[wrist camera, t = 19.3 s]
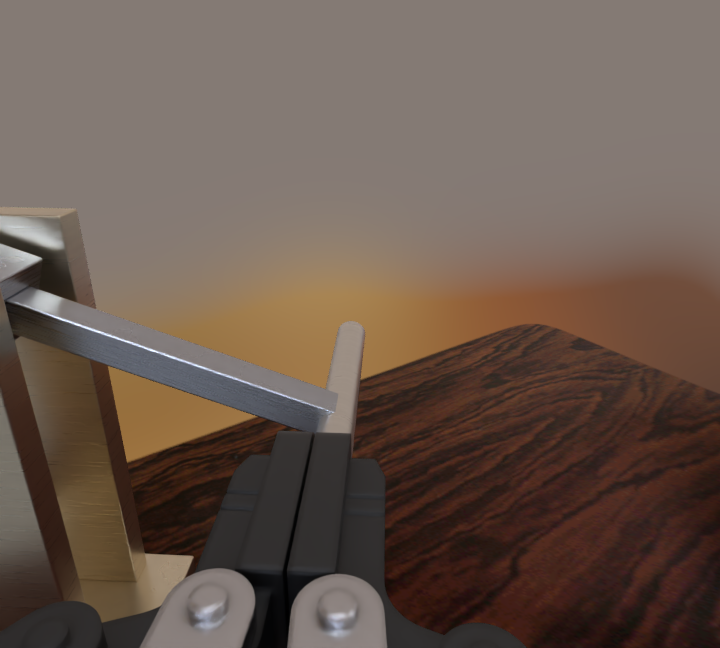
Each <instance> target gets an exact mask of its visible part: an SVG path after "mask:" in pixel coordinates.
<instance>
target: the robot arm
mask: <svg viewBox="0 0 720 648" xmlns="http://www.w3.org/2000/svg"><path fill="white" fill-rule="evenodd" d="M384 553H385V475H384V473H383V472H382V470H381V468H380V466H379V465H378V463H377V461H376V460H375V459H357V458H351V433H328V432H316V434H314V432H296V431H278V433H277V436H276V439H275V442H274V445H273V448H272V452H271V455H250V456H249V457H248V458H247V459H246V460H245V461H244V462H243V463H242V464H241V465H240V466H239V467H238V468H237V469H236V470H235V471H234V474H233V476H232V479H231V481H230V484H229V486H228V489H227V494H225V497H224V499H223V502H222V504H221V510H219V512H218V514H217V517H216V520H215V522H214V525H213V527H212V530H211V532H210V535H209V537H208V540H207V542H206V545H205V548H204V550H203V553H202V555H201V558H200V560H199V563H198V565H197V568H196V570H195V573H194V574H192V575H190V576H188V577H186V578H185V579H183V580H182V581H181V582H179V583H178V584H177V585H176V586H175V587H174V588H173V589H172V590H171V591H170V592H169V593H168V595H167V596H166V598H165V600H164V601H163V603H162V605H161V606H159V607H157V608H155V609H152V610H150V611H147V612H144V613H140V614H136V615H132V616H128V617H124V618H119V619H115V620H111V621H107V622H103V623H102V622H101V618H100V615H99V614H98V612H97V611H96V610H95V609H94V608H93V607H92V606H90V605H88V604H87V603H83V602H80V601H62V602H57V603H53V604H50V605H46V606H44V607H42V608H39V609H37V610H35V611H33V612H32V613H30V614H28V615H26V616H25V617H23V618H21V619H20V620H18V621H17V622H15V623H13V624H12V625H10V626H9V627H7V628H5V629H4V630H2V631H1V632H0V648H527V647H526V646H525V645H524V644H523V643H522V642H521V641H519V640H518V639H517V638H516V637H515V636H513V635H512V634H510V633H509V632H507V631H506V630H503V629H501V628H499V627H497V626H493V625H490V624H485V623H468V624H463V625H460V626H457V627H455V628H454V629H452V630H450V631H449V632H448V633H447V634H446V635H445V636H444V635H442V634H439V633H436V632H434V631H431V630H428V629H426V628H423V627H421V626H418V625H416V624H414V623H412V622H411V621H409V620H408V619H406V618H405V617H404V616H402V615H401V614H400V613H399V612H398V611H397V610H396V609H395V607H394V606H393V605H392V603H391V602H390V600H389V598H388V596H387V593H386V589H385V584H384Z"/></svg>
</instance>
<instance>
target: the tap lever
mask: <svg viewBox="0 0 720 648" xmlns="http://www.w3.org/2000/svg"><path fill="white" fill-rule="evenodd" d="M42 262H43V259H42V258H40V257H37V256H35V255H32V254H29V253H26V252H23V251H21V250H18V249H15V248H12V247H9V246H6V245H4V244H1V243H0V288H1V292H2V295H3V299H4V303H5V306H6V310H7V314H8V317H9V321H10V325H11V329H12V332H13V336H14V340H16V339H18V338H19V337H21V336H22V337H25V338H28V339H31V340H34V341H37V342H39V343H42V344H45V345H48V346H51V347H54V348H57V349H60V350H63V351H66V352H69V353H72V354H75V355H78V356H81V357H84V358H87V359H90V360H93V361H96V362H99V363H102V364H104V365H107V366H111V367H113V368H116V369H120V370H122V371H125V372H128V373H131V374H134V375H137V376H140V377H143V378H146V379H149V380H152V381H155V382H158V383H161V384H164V385H167V386H170V387H172V388H176V389H178V390H182V391H184V392H187V393H190V394H193V395H196V396H199V397H202V398H205V399H208V400H211V401H214V402H217V403H220V404H223V405H226V406H229V407H232V408H235V409H238V410H240V411H243V412H246V413H250V414H252V415H255V416H258V417H261V418H264V419H267V420H270V421H273V422H276V423H279V424H282V425H285V426H288V427H291V428H294V429H297V430H300V431H302V432H314V434H316V432H328V433H351V458H352V452H353V442H354V433H355V424H356V414H357V405H358V396H359V387H360V377H361V367H362V358H363V348H364V340H365V330H364V328H363V327H362V326H361V325H360V324H359V323H357V322H354V321H348V322H345V323H343V324H342V325H341V326H340V327H339V329H338V333H337V338H336V343H335V347H334V352H333V356H332V361H331V366H330V370H329V375H328V380H327V384H326V389H324V388H321V387H318V386H315V385H312V384H309V383H307V382H304V381H301V380H298V379H295V378H292V377H289V376H286V375H284V374H281V373H278V372H275V371H272V370H269V369H266V368H263V367H260V366H257V365H255V364H252V363H249V362H246V361H243V360H240V359H237V358H234V357H232V356H229V355H226V354H223V353H220V352H217V351H214V350H211V349H208V348H205V347H203V346H199V345H197V344H194V343H191V342H188V341H185V340H183V339H180V338H177V337H174V336H171V335H168V334H165V333H163V332H160V331H156V330H154V329H151V328H148V327H145V326H143V325H140V324H136V323H134V322H131V321H128V320H125V319H122V318H120V317H117V316H114V315H111V314H108V313H105V312H102V311H99V310H96V309H94V308H91V307H88V306H85V305H82V304H79V303H76V302H73V301H71V300H68V299H65V298H62V297H59V296H56V295H53V294H50V293H48V292H45V291H42V290H39V284H40V277H41V269H42Z"/></svg>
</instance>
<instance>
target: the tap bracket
mask: <svg viewBox="0 0 720 648" xmlns="http://www.w3.org/2000/svg"><path fill="white" fill-rule="evenodd" d="M0 243H1V244H4V245H6V246H9V247H12V248H15V249H18V250H21V251H23V252H26V253H29V254H32V255H35V256H37V257H40V258H42V259H43V262H42V269H41V277H40V284H39V290H42V291H45V292H48V293H50V294H53V295H56V296H59V297H62V298H65V299H68V300H71V301H73V302H76V303H79V304H82V305H85V306H88V307H91V308H94V309H96V305H95V300H94V295H93V290H92V285H91V279H90V275H89V269H88V264H87V260H86V254H85V249H84V244H83V239H82V234H81V229H80V225H79V219H78V214H77V210H76V209H68V208H23V207H22V208H21V207H0ZM195 570H196V568H195V562H194V557H193V556H185V555H165V554H145V552H144V547H143V541H142V536H141V531H140V526H139V521H138V516H137V511H136V506H135V501H134V496H133V491H132V486H131V481H130V476H129V471H128V466H127V461H126V456H125V451H124V446H123V441H122V436H121V431H120V426H119V421H118V415H117V410H116V406H115V400H114V395H113V390H112V386H111V380H110V376H109V370H108V366H107V365H104V364H102V363H99V362H96V361H93V360H90V359H87V358H84V357H81V356H78V355H75V354H72V353H69V352H66V351H63V350H60V349H57V348H54V347H51V346H48V345H45V344H42V343H39V342H37V341H34V340H31V339H28V338H25V337H22V336H21V337H19V338H18V339H16V340H14V336H13V332H12V329H11V325H10V321H9V317H8V314H7V310H6V306H5V303H4V299H3V295H2V292H1V288H0V632H1V631H2V630H4V629H5V628H7V627H9V626H10V625H12V624H13V623H15V622H17V621H18V620H20V619H21V618H23V617H25V616H26V615H28V614H30V613H32V612H33V611H35V610H37V609H39V608H42V607H44V606H46V605H50V604H53V603H57V602H62V601H80V602H83V603H87V604H88V605H90V606H92V607H93V608H94V609H95V610H96V611H97V612H98V614H99V615H100V618H101V622H102V623H103V622H107V621H111V620H115V619H119V618H124V617H128V616H132V615H136V614H140V613H144V612H147V611H150V610H152V609H155V608H157V607H159V606H161V605H162V603H163V601H164V600H165V598H166V596H167V595H168V593H169V592H170V591H171V590H172V589H173V588H174V587H175V586H176V585H177V584H178V583H179V582H181V581H182V580H183V579H185V578H186V577H188V576H190V575H192V574H194V573H195Z"/></svg>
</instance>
